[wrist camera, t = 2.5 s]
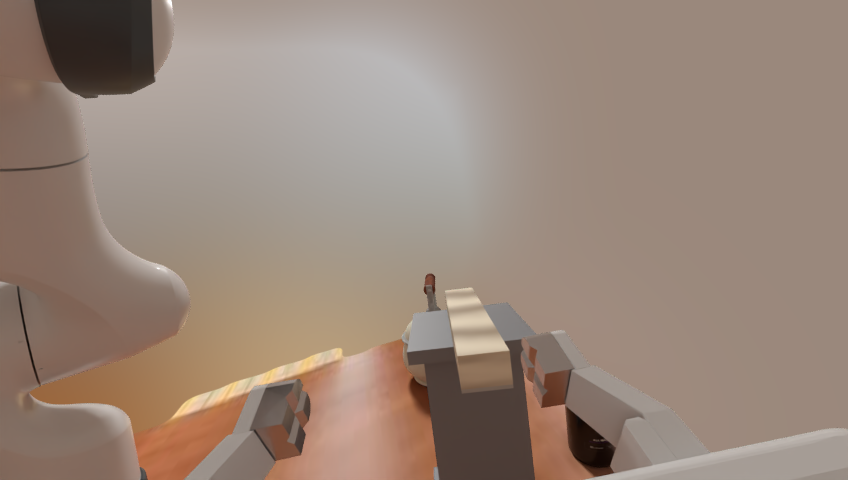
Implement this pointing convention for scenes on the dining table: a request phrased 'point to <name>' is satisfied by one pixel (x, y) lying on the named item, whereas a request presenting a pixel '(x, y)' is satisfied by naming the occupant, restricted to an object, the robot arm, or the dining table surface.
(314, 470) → the dining table surface
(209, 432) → the dining table surface
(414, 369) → the kettle
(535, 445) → the dining table surface
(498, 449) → the tool stand
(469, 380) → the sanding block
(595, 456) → the supplement bottle
